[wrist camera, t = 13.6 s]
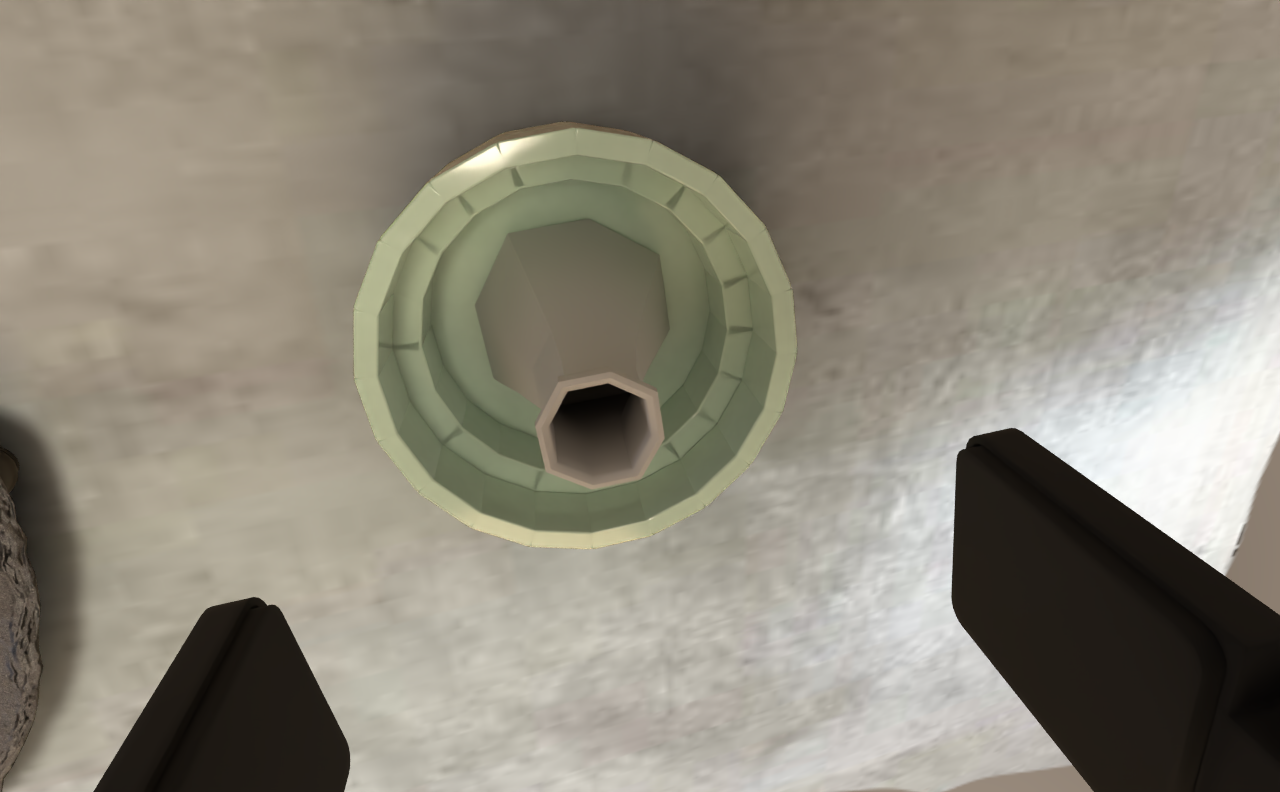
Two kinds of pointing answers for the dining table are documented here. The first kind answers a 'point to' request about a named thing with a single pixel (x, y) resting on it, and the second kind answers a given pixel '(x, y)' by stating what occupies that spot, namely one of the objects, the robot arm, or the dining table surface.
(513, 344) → the flask
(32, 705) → the serving tray
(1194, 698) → the robot arm
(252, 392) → the dining table surface
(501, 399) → the basin
